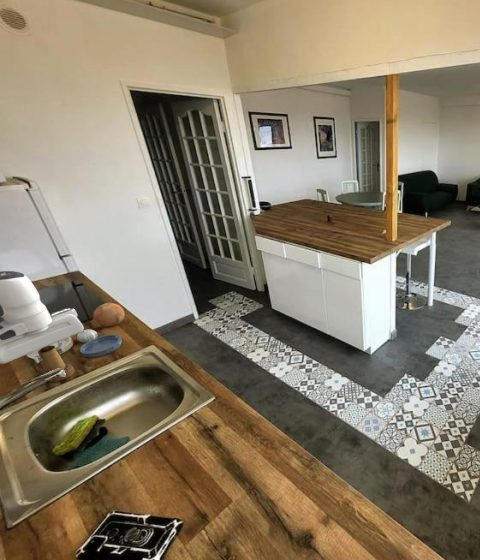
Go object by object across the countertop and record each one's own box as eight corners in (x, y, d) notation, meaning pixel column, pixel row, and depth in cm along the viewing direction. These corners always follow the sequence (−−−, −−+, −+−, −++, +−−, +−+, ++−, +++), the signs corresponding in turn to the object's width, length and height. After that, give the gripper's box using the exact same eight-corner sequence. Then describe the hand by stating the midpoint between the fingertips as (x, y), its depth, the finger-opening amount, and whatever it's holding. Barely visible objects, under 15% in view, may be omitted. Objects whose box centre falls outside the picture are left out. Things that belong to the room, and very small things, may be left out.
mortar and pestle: (74, 366, 108) (51, 323, 101) (75, 375, 104) (51, 331, 96) (47, 375, 104) (21, 331, 96) (47, 385, 100) (19, 340, 92)
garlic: (76, 346, 118) (70, 335, 116) (82, 338, 122) (76, 327, 120) (96, 342, 120) (90, 331, 118) (101, 335, 125) (96, 324, 122)
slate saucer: (92, 361, 111) (89, 357, 110) (76, 352, 115) (73, 347, 114) (128, 344, 120) (126, 339, 119) (112, 335, 124) (110, 331, 123)
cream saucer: (38, 364, 109) (35, 359, 108) (24, 354, 113) (21, 349, 112) (80, 345, 118) (77, 341, 117) (65, 337, 123) (62, 332, 122)
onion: (113, 317, 136) (105, 297, 132) (133, 319, 135) (125, 299, 131) (91, 329, 128) (81, 309, 123) (113, 332, 127) (103, 311, 122)
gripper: (68, 303, 104) (85, 337, 110) (-25, 335, 88) (1, 372, 94) (77, 308, 102) (94, 342, 108) (-16, 341, 85) (10, 379, 91)
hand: (50, 356), depth 101 cm, fingers closed on mortar and pestle, 4 cm apart
